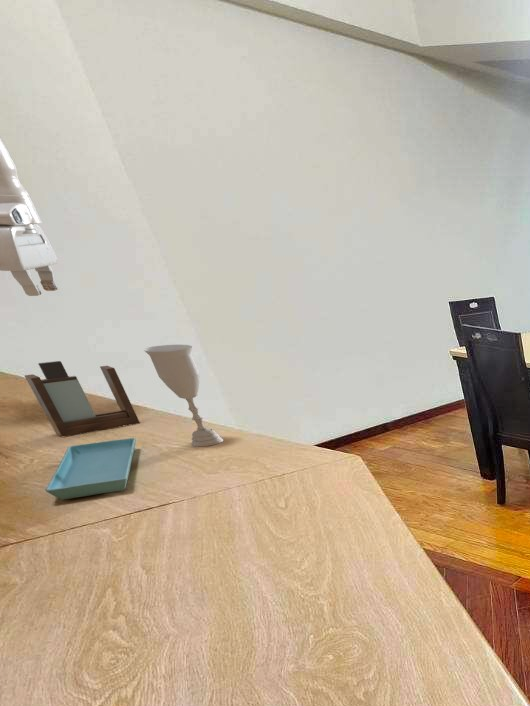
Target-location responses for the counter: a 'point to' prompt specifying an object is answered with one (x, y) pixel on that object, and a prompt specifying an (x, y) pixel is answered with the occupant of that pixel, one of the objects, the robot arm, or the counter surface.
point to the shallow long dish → (93, 469)
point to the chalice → (182, 383)
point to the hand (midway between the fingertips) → (43, 292)
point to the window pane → (65, 392)
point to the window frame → (88, 424)
